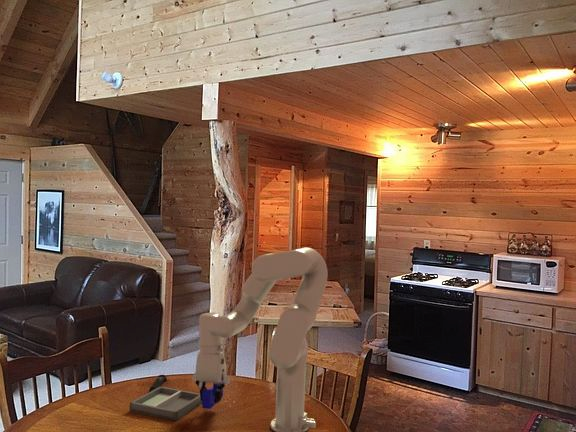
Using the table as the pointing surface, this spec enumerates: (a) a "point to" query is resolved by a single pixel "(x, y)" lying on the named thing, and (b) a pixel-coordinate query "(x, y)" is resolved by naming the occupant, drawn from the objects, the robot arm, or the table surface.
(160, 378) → the electric trimmer
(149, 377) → the table surface
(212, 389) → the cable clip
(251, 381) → the table surface
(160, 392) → the organiser tray
